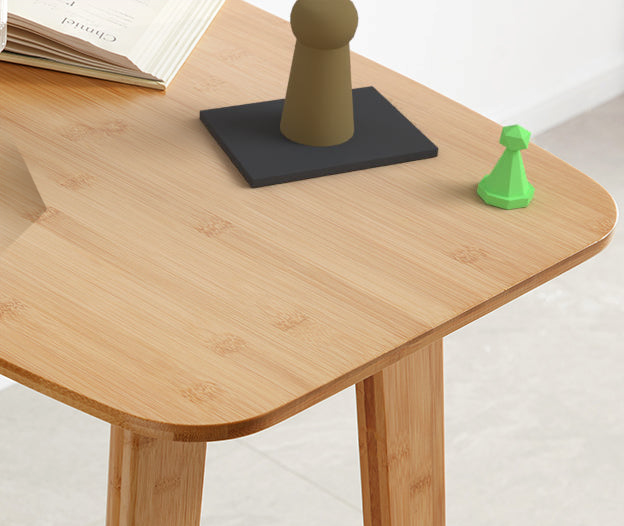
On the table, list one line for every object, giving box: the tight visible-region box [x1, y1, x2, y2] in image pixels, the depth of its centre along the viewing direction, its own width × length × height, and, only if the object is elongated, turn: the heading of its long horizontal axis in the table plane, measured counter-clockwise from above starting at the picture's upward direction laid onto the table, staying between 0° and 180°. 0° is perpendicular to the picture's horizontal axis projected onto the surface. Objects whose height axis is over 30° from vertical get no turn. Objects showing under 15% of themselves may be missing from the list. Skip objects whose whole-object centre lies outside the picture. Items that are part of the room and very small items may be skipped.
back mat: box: [199, 85, 439, 189], centre depth 92 cm, size 16×12×1 cm
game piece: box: [476, 124, 536, 210], centre depth 85 cm, size 4×4×6 cm
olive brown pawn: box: [280, 0, 359, 147], centre depth 89 cm, size 6×6×11 cm
